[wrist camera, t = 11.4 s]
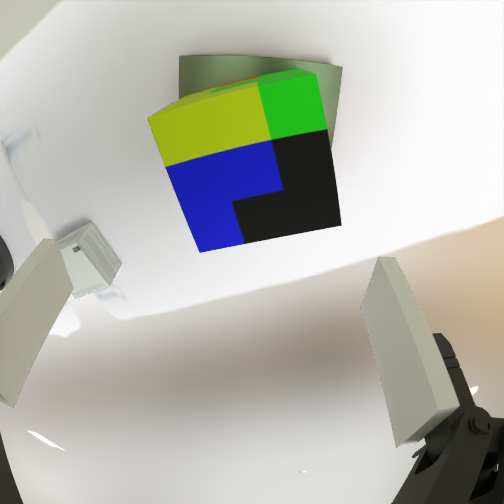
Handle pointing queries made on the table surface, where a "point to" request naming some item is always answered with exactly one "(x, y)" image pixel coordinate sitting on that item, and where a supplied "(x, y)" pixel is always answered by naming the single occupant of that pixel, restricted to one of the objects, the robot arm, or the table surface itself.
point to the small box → (88, 260)
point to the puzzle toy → (250, 159)
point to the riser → (243, 67)
